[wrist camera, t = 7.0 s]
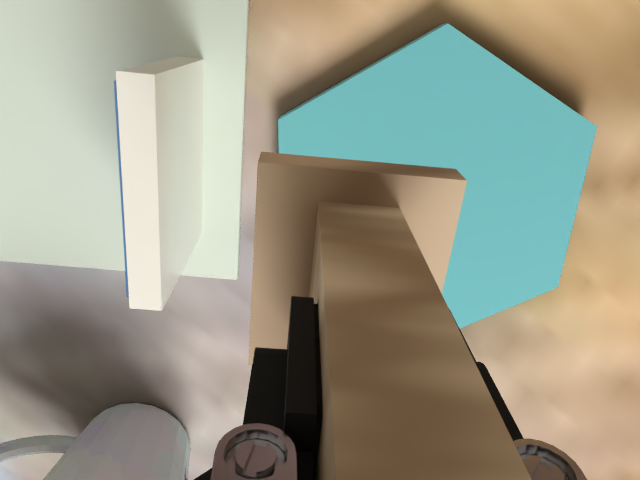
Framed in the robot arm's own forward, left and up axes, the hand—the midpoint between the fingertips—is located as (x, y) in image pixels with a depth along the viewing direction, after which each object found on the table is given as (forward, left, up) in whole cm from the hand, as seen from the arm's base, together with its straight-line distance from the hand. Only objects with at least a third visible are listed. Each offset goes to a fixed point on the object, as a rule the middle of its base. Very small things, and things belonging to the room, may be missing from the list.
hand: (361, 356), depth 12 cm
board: (+13, -1, -19) cm, 23 cm away
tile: (+8, 0, -18) cm, 20 cm away
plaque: (-6, +2, -19) cm, 20 cm away
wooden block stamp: (0, 0, -5) cm, 5 cm away
